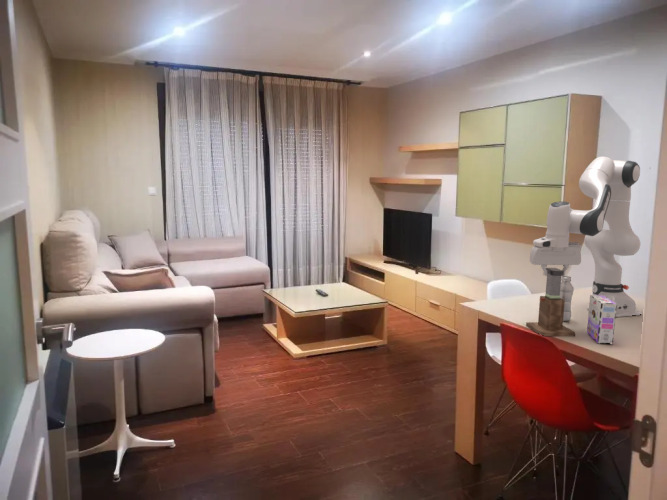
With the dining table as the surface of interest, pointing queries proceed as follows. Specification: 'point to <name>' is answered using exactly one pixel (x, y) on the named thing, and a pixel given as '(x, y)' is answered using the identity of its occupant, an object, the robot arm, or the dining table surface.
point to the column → (553, 283)
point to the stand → (550, 318)
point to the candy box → (601, 318)
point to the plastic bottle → (566, 296)
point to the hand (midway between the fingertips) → (554, 275)
